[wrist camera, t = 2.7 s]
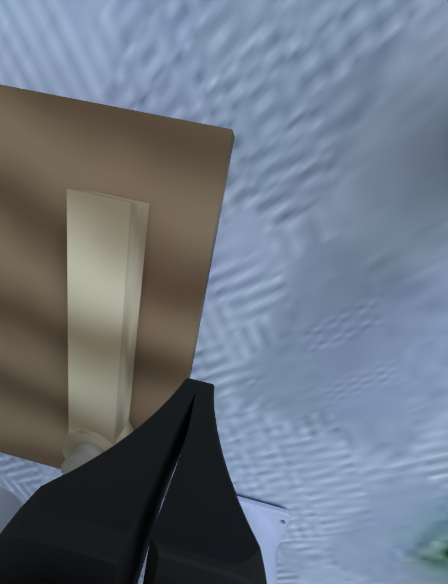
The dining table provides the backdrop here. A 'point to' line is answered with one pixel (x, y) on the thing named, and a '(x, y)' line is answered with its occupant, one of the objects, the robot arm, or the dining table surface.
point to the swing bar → (101, 319)
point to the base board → (53, 250)
